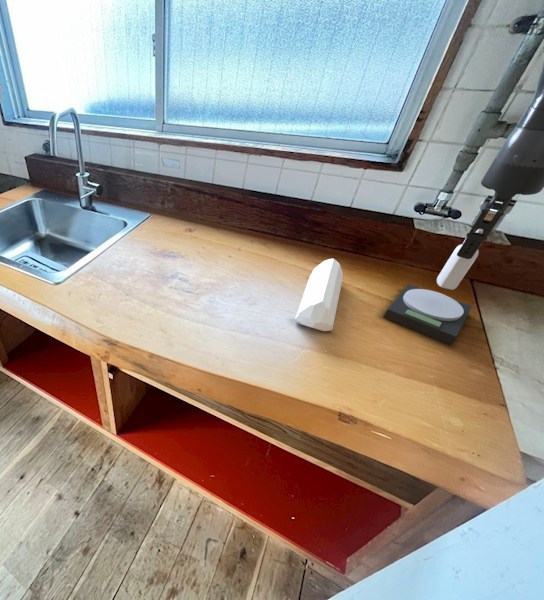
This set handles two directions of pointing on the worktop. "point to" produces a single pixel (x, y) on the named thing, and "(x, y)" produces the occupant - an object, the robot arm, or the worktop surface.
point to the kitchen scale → (428, 313)
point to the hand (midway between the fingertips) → (467, 251)
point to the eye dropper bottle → (455, 268)
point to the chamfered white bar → (321, 296)
